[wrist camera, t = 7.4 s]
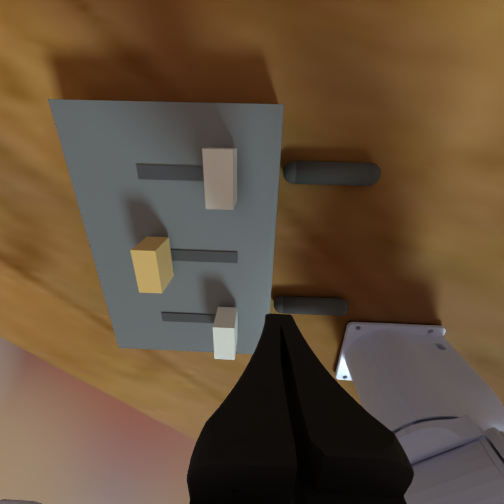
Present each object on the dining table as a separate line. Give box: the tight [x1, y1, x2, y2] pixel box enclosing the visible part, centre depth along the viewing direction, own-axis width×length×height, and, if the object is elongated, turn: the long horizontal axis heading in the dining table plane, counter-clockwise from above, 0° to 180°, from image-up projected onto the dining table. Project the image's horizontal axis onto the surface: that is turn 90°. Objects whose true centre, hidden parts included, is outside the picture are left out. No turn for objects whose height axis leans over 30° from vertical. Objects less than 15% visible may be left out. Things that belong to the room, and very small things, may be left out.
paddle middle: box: [130, 236, 174, 293], centre depth 17 cm, size 2×3×2 cm, turn 179°
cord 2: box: [274, 296, 348, 316], centre depth 23 cm, size 7×2×2 cm, turn 89°
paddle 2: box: [213, 307, 238, 360], centre depth 19 cm, size 2×3×2 cm, turn 179°
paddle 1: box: [202, 148, 237, 210], centre depth 14 cm, size 2×3×2 cm, turn 179°
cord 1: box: [284, 161, 381, 186], centre depth 18 cm, size 7×2×2 cm, turn 89°
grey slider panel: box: [48, 99, 284, 354], centre depth 20 cm, size 14×20×3 cm
